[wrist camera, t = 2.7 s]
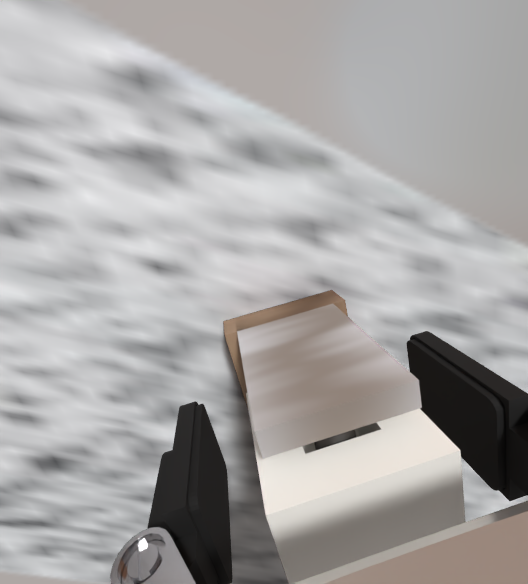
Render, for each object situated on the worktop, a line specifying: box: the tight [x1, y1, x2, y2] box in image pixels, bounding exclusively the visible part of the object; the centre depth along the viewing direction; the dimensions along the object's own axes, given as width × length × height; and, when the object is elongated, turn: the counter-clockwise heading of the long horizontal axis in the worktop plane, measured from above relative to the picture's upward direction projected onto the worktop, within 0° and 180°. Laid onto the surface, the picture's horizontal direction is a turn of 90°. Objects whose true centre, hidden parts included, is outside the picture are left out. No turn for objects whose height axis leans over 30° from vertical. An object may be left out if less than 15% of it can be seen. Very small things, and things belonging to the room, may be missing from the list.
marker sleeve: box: [246, 393, 465, 584], centre depth 9 cm, size 4×2×4 cm, turn 104°
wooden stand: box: [224, 290, 422, 459], centre depth 12 cm, size 5×12×8 cm, turn 14°
